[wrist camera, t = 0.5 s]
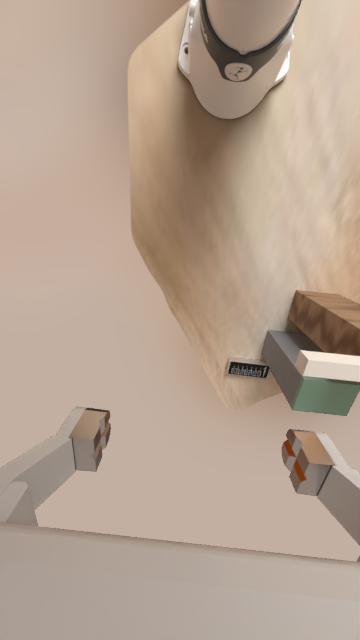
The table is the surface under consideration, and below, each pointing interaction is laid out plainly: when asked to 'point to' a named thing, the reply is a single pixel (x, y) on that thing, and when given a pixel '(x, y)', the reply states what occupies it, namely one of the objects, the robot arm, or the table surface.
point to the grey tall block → (305, 377)
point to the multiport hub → (247, 367)
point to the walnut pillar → (328, 321)
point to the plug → (328, 365)
